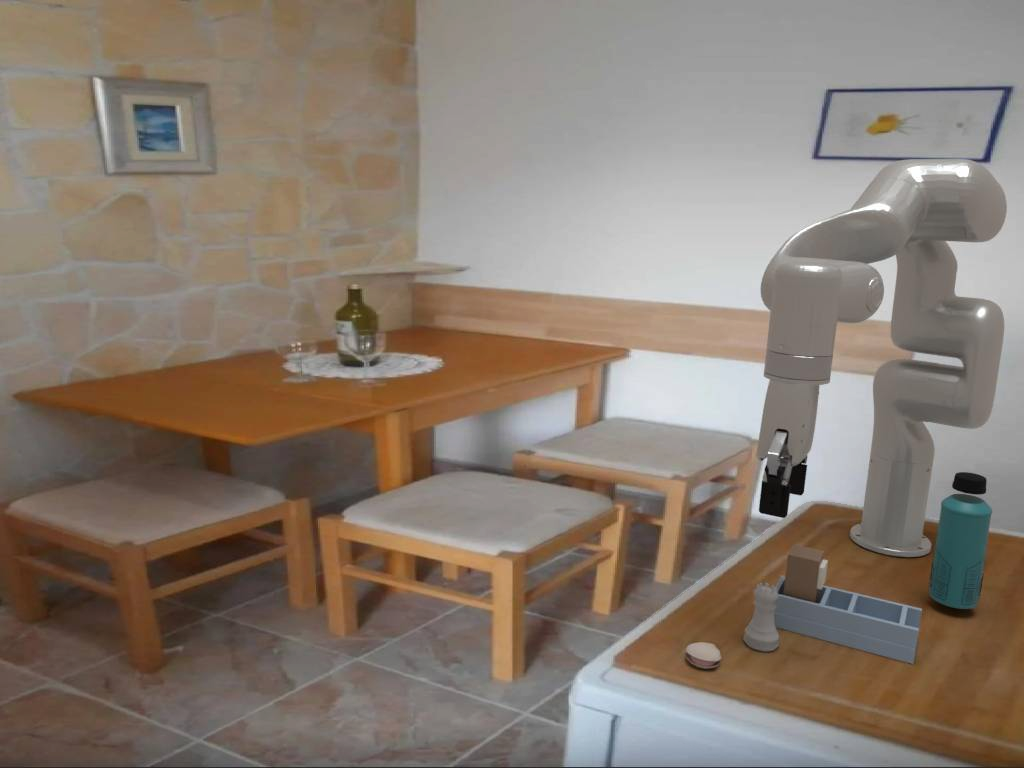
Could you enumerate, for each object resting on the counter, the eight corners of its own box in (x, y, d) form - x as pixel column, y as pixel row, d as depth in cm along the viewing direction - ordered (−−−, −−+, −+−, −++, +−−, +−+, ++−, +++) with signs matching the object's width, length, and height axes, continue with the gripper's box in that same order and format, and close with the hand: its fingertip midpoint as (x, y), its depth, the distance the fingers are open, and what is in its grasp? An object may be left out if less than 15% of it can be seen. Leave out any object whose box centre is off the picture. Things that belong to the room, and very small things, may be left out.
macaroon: (680, 664, 101) (681, 646, 100) (695, 648, 105) (697, 630, 104) (713, 677, 98) (715, 658, 98) (728, 659, 102) (730, 641, 102)
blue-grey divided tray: (777, 604, 117) (785, 538, 115) (917, 639, 108) (928, 569, 106) (766, 624, 111) (773, 555, 109) (913, 664, 102) (924, 590, 100)
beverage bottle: (984, 622, 113) (1007, 484, 109) (932, 616, 115) (953, 480, 110) (968, 600, 120) (989, 469, 115) (919, 595, 121) (938, 465, 117)
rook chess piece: (786, 650, 104) (792, 593, 103) (755, 655, 103) (761, 596, 101) (765, 633, 109) (771, 577, 107) (736, 637, 107) (741, 581, 106)
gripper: (781, 354, 107) (767, 479, 110) (747, 373, 92) (732, 517, 95) (842, 361, 103) (826, 491, 107) (817, 382, 88) (799, 532, 92)
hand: (781, 503), depth 101 cm, fingers open, 9 cm apart
